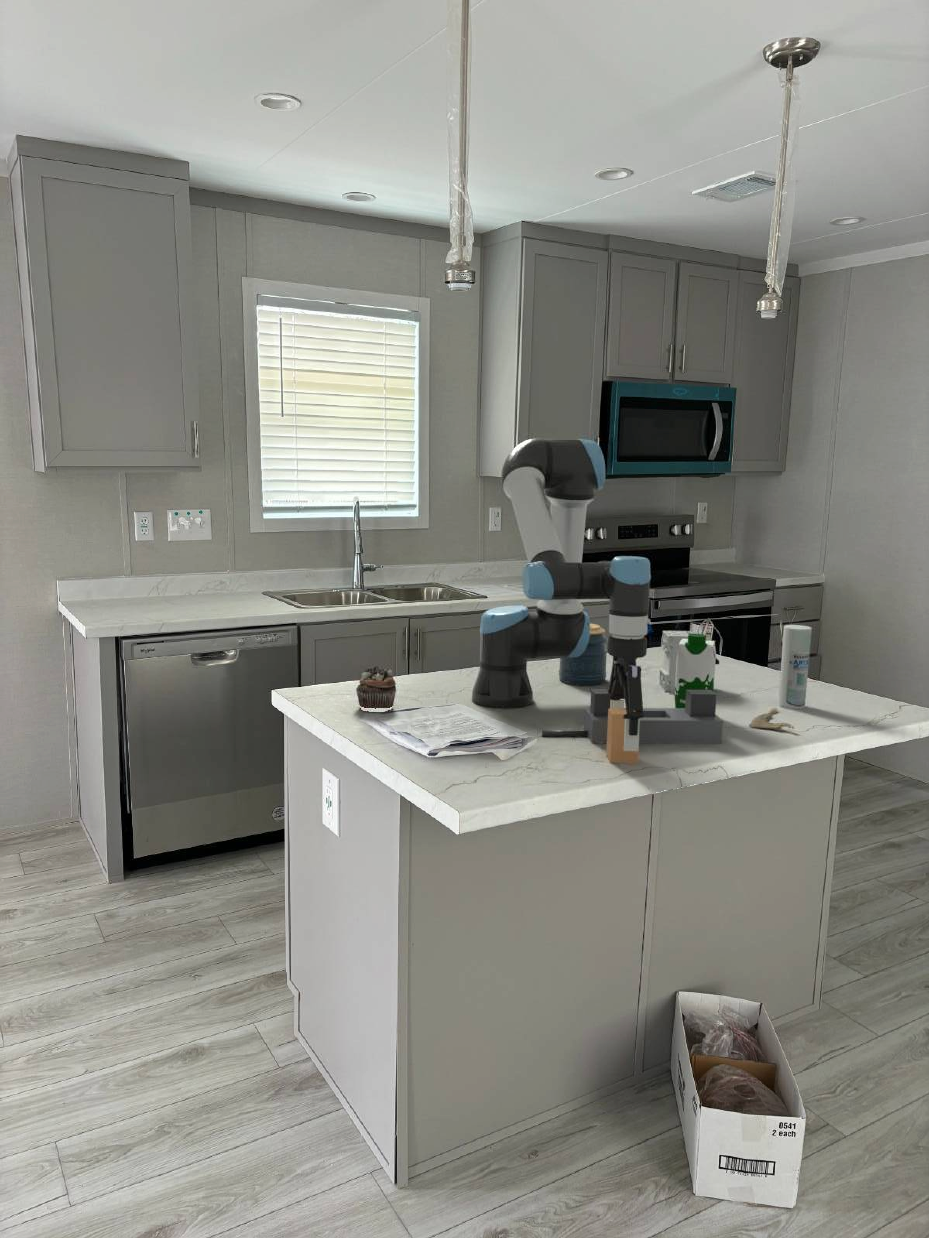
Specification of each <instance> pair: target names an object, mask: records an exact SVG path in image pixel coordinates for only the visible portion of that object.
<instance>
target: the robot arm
mask: <svg viewBox="0 0 929 1238" xmlns="http://www.w3.org/2000/svg"><path fill="white" fill-rule="evenodd" d="M605 463H606V462H605V458H604V454H603V451H602V449H601V446H600V445H599V444H598V443H597V442H596V441H595V440H589V439H584V438H583V439H581V438H542V437H541V438H538V437H536V438H530V439H526V440H524V441H523V442H521V443H519V444H518V445H516V446H515V447H514V448H513V449H512V450H511V451H510V453H509V454H508V455H507V456H506V458H505V460H504V463H503V465H502V469H501V474H500V475H501V476H500V477H501V478H500V479H501V485H502V490H503V492H504V493H505V495H506V497H508V499H510V500H511V504H512V508H513V512H514V515H515V518H516V522H517V525H518V530H519V534H520V537H521V540H522V544H523V547H524V552H525V555H526V558H527V563H526V564H525V565H524V567H523V569H522V576H521V579H522V580H521V583H522V591H523V594H524V596H525V597H526V598H527V599H529V600H538V602H537V603H536V609H535V611H530V610H529V608H528V607H527V606H525V605H507V606H505V605H503V606H499V607H494V608H491V609H488V610H486V611H484V612H483V613H482V615H481V619H480V627H479V633H480V635H479V636H480V640H479V643H480V644H479V645H480V647H479V669H478V670H479V671H478V674H477V676H476V680H475V683H474V685H473V688H472V694H471V699H472V702H474V703H476V704H478V705H481V706H485V707H490V708H491V707H492V708H503V709H504V708H507V709H509V708H518V707H520V708H521V707H526V706H528V705H530V704H532V703H533V701H534V700H533V699H534V698H533V696H534V695H533V694H534V692H533V688H532V685H531V682H530V679H529V675H528V672H527V671H528V670H527V669H528V668H527V666H528V665H527V664H528V660H536V659H538V660H539V659H541V660H542V659H560V658H561V659H566V658H572V657H578V656H580V655H581V654H582V653H583V652H584V651H585V649H586V647H587V644H588V641H589V636H590V627H589V626H590V624H591V621H590V616H589V614H588V613H587V612H586V611H584V606H583V604H582V603H581V602H580V600H609V613H608V627H607V628H608V631H607V632H608V633H609V634H610V635H609V636H608V638H607V639H608V641H607V654H608V655H610V656H611V657H612V665H611V671H610V678H609V682H608V683H609V684H608V688H607V689H608V693H609V694H610V699H612V700H610V709H624V708H626V713H627V714H624V716H623V719H625V731H624V751H638V752H639V750H640V749H639V747H640V743H639V728H640V718H643V716H644V714H643V708H644V705H643V703H644V702H643V692H642V690H643V689H642V667H641V665H637V659H639V658H644V657H646V656H647V652H648V651H647V649H648V648H647V647H648V639H647V637H646V635H648V625H649V624H650V623H651V619H650V618H649V605H650V604H649V602H650V589H651V588H650V587H651V578H652V575H651V562H650V560H649V559H648V558H647V557H643V556H635V555H634V556H632V555H629V556H628V555H627V556H626V555H622V556H621V555H619V556H615V557H614V558H612V560H602V561H601V560H600V561H598V562H583V552H584V542H585V541H584V540H585V530H586V520H587V519H586V518H587V510H588V509H587V508H588V505H589V504H590V503H592V502H593V501H594V499H595V492H596V491H597V492H598V491H599V490H602V489H603V488H604V485H605V481H606V464H605ZM548 501H549V502H550V507H549V503H548Z"/></svg>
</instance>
